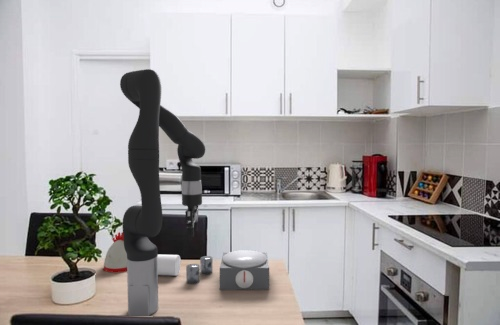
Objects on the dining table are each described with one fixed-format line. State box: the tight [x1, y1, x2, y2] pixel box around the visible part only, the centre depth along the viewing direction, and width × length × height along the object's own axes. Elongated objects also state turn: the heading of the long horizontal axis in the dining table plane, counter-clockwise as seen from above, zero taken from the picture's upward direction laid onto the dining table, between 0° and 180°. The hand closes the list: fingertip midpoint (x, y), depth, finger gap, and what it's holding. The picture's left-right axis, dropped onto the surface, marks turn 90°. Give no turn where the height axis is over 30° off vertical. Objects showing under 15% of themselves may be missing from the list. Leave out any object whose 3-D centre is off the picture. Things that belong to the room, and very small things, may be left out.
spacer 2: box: [199, 255, 214, 276], centre depth 135 cm, size 5×5×6 cm
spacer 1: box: [185, 263, 201, 285], centre depth 126 cm, size 5×5×6 cm
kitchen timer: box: [103, 231, 127, 273], centre depth 142 cm, size 14×14×15 cm
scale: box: [219, 249, 270, 291], centre depth 126 cm, size 18×18×9 cm
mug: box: [158, 254, 182, 277], centre depth 135 cm, size 12×10×8 cm
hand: (192, 234), depth 125 cm, fingers open, 8 cm apart
